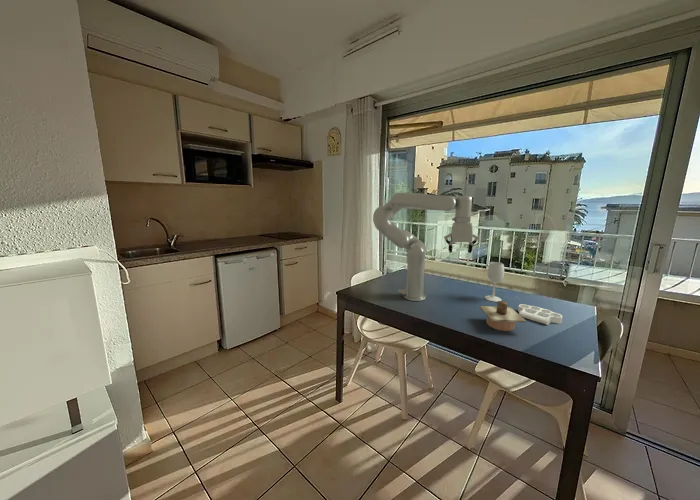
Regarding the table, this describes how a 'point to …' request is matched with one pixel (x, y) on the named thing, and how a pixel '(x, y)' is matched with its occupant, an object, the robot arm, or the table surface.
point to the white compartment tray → (539, 314)
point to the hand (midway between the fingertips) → (459, 252)
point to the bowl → (501, 325)
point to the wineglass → (495, 278)
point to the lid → (502, 313)
